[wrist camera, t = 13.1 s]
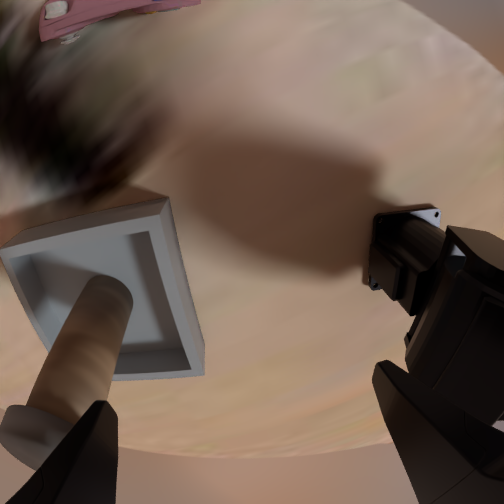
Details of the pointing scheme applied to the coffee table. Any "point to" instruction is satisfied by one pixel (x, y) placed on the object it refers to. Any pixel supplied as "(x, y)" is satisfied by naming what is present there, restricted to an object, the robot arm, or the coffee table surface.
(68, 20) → the pink toy car
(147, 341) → the tray
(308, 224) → the coffee table surface
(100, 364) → the pin
